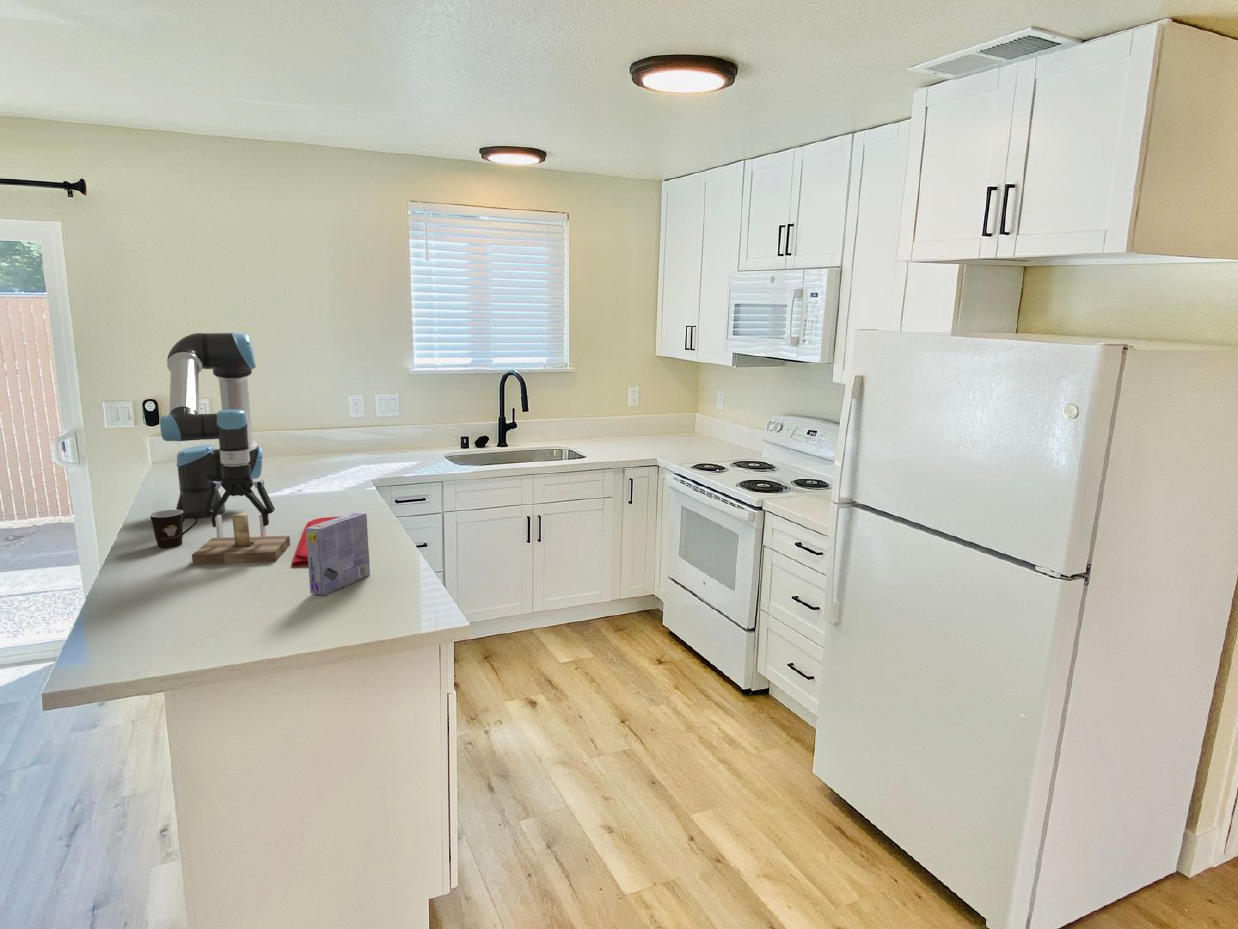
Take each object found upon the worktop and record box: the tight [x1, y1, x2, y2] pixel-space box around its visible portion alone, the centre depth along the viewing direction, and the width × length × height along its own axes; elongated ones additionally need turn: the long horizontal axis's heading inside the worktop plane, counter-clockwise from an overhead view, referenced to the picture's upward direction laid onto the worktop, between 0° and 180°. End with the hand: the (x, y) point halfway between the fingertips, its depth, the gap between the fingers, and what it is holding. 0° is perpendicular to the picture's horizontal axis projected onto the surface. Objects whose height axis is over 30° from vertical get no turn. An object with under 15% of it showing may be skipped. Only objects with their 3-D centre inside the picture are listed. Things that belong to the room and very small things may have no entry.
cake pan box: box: [306, 512, 371, 597], centre depth 197 cm, size 19×5×18 cm, turn 159°
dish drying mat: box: [291, 516, 341, 568], centre depth 231 cm, size 16×41×4 cm, turn 17°
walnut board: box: [191, 535, 291, 566], centre depth 220 cm, size 16×22×3 cm
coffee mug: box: [149, 509, 198, 549], centre depth 227 cm, size 12×9×10 cm
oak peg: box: [231, 513, 251, 548], centre depth 219 cm, size 4×4×12 cm
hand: (242, 537), depth 219 cm, fingers open, 11 cm apart
